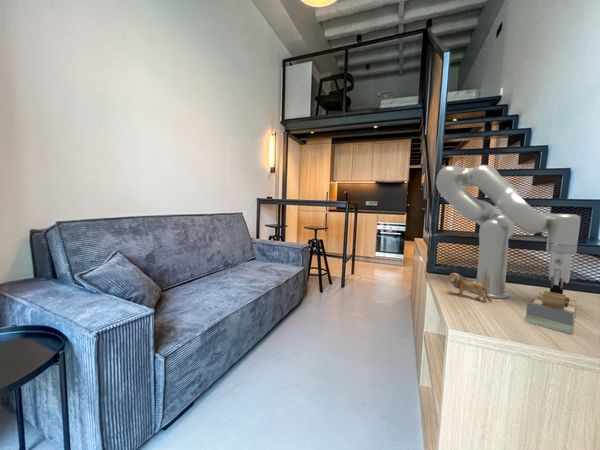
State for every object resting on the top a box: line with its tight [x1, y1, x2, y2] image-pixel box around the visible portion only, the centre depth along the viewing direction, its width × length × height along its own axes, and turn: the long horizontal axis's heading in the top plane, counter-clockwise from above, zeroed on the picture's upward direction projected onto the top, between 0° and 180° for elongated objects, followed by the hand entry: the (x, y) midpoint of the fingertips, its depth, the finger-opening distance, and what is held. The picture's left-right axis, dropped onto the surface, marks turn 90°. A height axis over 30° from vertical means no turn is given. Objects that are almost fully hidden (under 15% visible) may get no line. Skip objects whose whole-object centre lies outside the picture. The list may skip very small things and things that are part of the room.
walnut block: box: [542, 290, 566, 310], centre depth 87 cm, size 5×5×4 cm
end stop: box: [525, 301, 575, 327], centre depth 78 cm, size 2×10×4 cm, turn 41°
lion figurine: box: [448, 272, 493, 303], centre depth 101 cm, size 15×5×9 cm, turn 51°
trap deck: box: [524, 291, 577, 335], centre depth 89 cm, size 34×10×2 cm, turn 131°
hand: (555, 299), depth 92 cm, fingers closed
